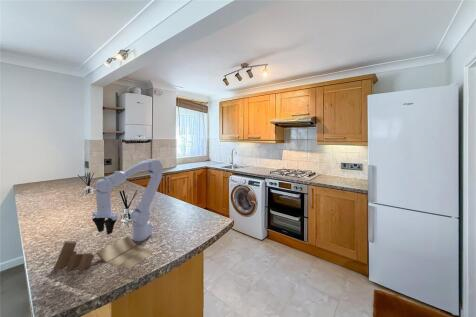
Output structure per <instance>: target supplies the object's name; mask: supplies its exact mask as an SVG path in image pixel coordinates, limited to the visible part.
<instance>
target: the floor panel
mask: <svg viewBox="0 0 476 317" xmlns="http://www.w3.org/2000/svg"><path fill="white" fill-rule="evenodd" d="M157 251H158V250H157V249H153V248H149V247H144V246H140V245H137V246H135V247H134V248H132V249H130V250H128V251H127V252H125V253H123V254H121V255H120V256H118V257H116V258H114V259H113V260H111V261H109V262H107V264H110V265H113V266H116V267H120V268H123V269H127V270H130V269H131V268H133V267H134V266H136V265H137V264H139V263H140V262H142V261H143V260H145V259H146V258H148V257H149V256H150V255H153V254H154V253H155V252H157Z"/></svg>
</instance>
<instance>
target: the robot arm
mask: <svg viewBox="0 0 476 317" xmlns="http://www.w3.org/2000/svg"><path fill="white" fill-rule="evenodd" d="M141 171H146V172H148V174H149V176H150V179H149V182H148V183H147V185H146V188H145V190H144V192H143V194H142V197H141V199H140V201H139V204H138V205H137V206H135V208H134V210H132V211H131V214H130V215H129V216H130V220H131V221H132V226H131V227H132V241H133V242H141V241H145V240H146V239H147V238H149V237H151V236H153V226H152V225H153V224H152V222H151V221H150V214H151V210H150V207H151V204H152V202H153V200H154V197H155V195H156V192H157V190H158V189H159V185H160V183H161V181H162V179H163V164H162V162H161V161H160V160H159V159H154V158H153V159H152V158H146V159H145V160H142V161H140V162H138V163H136V164H134V165H133V166H131V167H129V168H127V169H126V170H124V171H121V170H115V171H113V173H112V174H110V175H108V176H104V177H103V178H100V179H98V180H96V182H94V186H93V187H94V188H93V189H95V190H96V192H95V193H96V196H95V197H96V199H95V200H96V210H95V211H92V212H91V216H92V219H91V220H92V222H93V223H94V224H95V226H96V228H97V231H98V233H102V232H104V230H106V234H107V235H110V234H112V233H113V230H114V227H115V224H116V222H117V220H118V215H117V214H116V213H114V212H112V201H111V200H112V197H111V191H112V188H115V187H117V186H118V185H121V184H122V183H124V182H126V181H127V178H128V177H131V176H133V175H135V174H137V173H139V172H141ZM93 217H94V218H93Z"/></svg>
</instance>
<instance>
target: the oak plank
mask: <svg viewBox="0 0 476 317" xmlns="http://www.w3.org/2000/svg"><path fill="white" fill-rule="evenodd" d="M136 246H138V245H137V244H136V243H135V241H134V240H133V239H131V238H130V237H129V236H125V237H124V238H122V239H119V240H118V241H116V242H114V243H111V244H110V245H108V246H106V247H104V248H102V249H100V250H98V251H96V252H95V254H96V256H98V258H99V259H100V260H101V261H102V263H107V264H108V262H110V261H112V260H114V259H115V258H117V257H119V256H121V255H122V254H124V253H126V252H128V251H129V250H131V249H133V248H134V247H136Z"/></svg>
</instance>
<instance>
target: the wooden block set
mask: <svg viewBox="0 0 476 317" xmlns="http://www.w3.org/2000/svg"><path fill="white" fill-rule="evenodd" d="M76 246H77V241H73V240H66V241H64V243H63V246H62V248H61V250H60V253H59V255H58V258H57V260H56V263H55V265H54V269H57V270H60V269H62V268H65V267H66V269H67V270H68V271H72V270H73V269H76V268H77V270H79V271H80V272H82V271H85V270H86V269H89V268H90V267H91V265H92V262H93V259H94V258H95V255H94V254H93V253H91V252H87V253H86V252H85V253H78V251H77V250H76V251H74V250H75V248H76Z"/></svg>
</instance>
